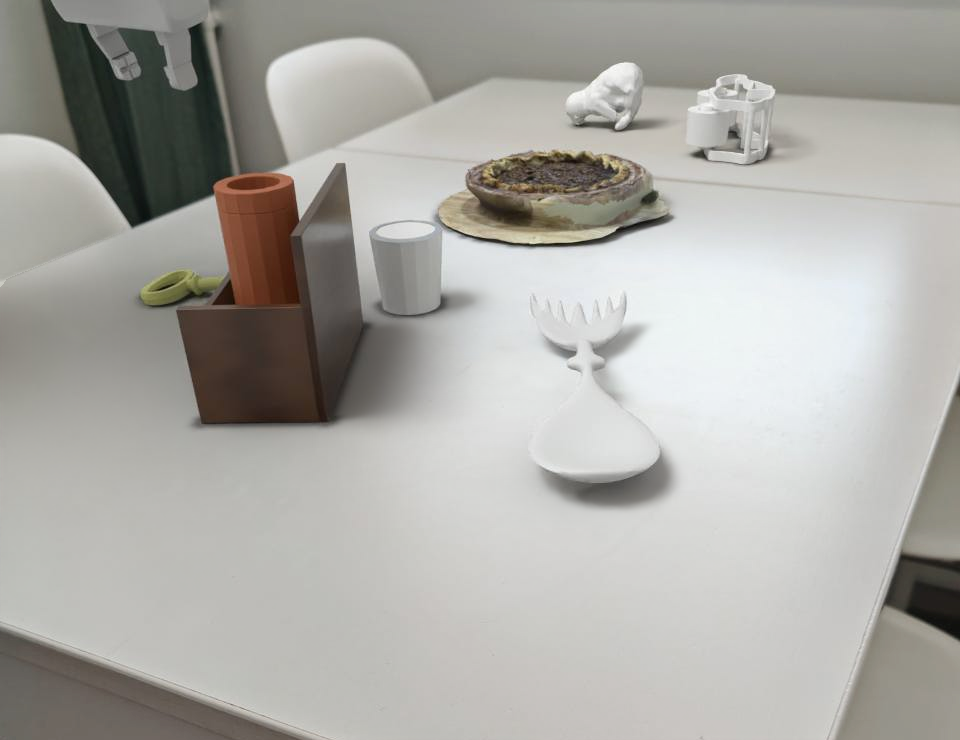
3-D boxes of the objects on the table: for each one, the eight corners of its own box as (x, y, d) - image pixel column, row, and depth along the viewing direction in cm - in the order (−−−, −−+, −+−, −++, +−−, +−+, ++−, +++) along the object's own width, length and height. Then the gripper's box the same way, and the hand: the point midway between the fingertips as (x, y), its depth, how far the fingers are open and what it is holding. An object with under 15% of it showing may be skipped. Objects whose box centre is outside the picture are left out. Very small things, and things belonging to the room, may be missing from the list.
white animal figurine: (637, 65, 145) (557, 72, 149) (639, 130, 150) (562, 135, 154) (646, 57, 149) (568, 65, 153) (647, 120, 154) (572, 126, 158)
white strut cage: (697, 129, 150) (702, 73, 146) (773, 131, 147) (780, 74, 143) (679, 162, 135) (684, 101, 131) (763, 165, 133) (771, 103, 128)
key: (263, 298, 100) (259, 276, 98) (138, 308, 99) (132, 286, 98) (267, 274, 105) (264, 254, 104) (149, 284, 104) (144, 263, 103)
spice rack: (201, 423, 78) (159, 238, 69) (257, 326, 94) (229, 165, 85) (327, 421, 78) (301, 235, 69) (363, 324, 93) (345, 162, 84)
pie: (532, 262, 105) (532, 212, 102) (394, 208, 123) (390, 165, 120) (719, 209, 118) (724, 163, 115) (569, 167, 135) (569, 127, 132)
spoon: (626, 323, 91) (628, 285, 89) (665, 505, 66) (670, 458, 64) (527, 326, 91) (527, 288, 89) (529, 507, 66) (528, 460, 64)
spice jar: (230, 325, 81) (204, 194, 74) (247, 299, 85) (224, 173, 79) (304, 324, 80) (284, 192, 74) (317, 297, 85) (299, 171, 79)
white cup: (362, 304, 97) (353, 230, 93) (418, 287, 101) (412, 214, 96) (404, 323, 93) (397, 246, 89) (461, 304, 96) (457, 228, 92)
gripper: (-16, -101, 79) (70, 86, 89) (104, -108, 67) (188, 109, 77) (53, -126, 82) (129, 59, 91) (180, -137, 69) (253, 77, 79)
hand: (157, 82), depth 84 cm, fingers open, 8 cm apart
